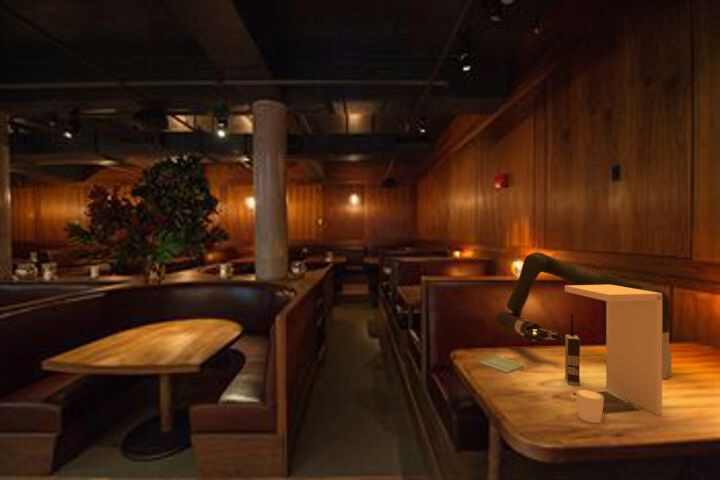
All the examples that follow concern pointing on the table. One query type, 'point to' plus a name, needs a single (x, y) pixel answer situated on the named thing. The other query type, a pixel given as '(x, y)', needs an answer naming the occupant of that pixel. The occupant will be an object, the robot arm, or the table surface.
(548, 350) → the table surface
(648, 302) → the overhang shelf
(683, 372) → the table surface
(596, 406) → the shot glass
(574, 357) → the vintage mobile phone
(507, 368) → the pale green flat pad
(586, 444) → the table surface
